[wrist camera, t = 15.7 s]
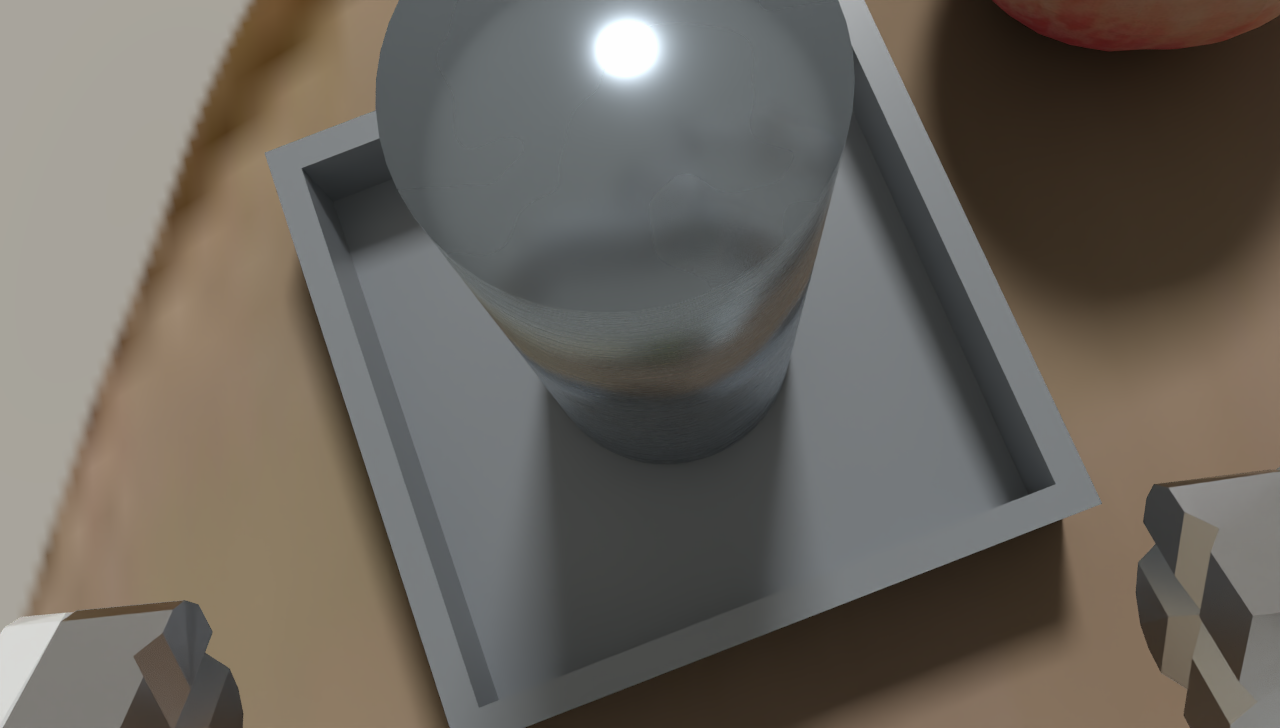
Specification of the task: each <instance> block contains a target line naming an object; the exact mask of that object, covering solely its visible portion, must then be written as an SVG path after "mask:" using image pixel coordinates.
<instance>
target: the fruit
mask: <svg viewBox="0 0 1280 728" xmlns="http://www.w3.org/2000/svg"><path fill="white" fill-rule="evenodd" d="M992 1H993V2H994V3H996V4H997V5H998V6H999V7H1000V8H1001V9H1002V10H1004V11H1005V12H1006V13H1007V14H1008V15H1009V16H1011V17H1012V18H1014V19H1016V20H1017V21H1019V22H1020V23H1022V24H1024V25H1025V26H1027V27H1028V28H1030V29H1032V30H1033V31H1035V32H1037V33H1038V34H1041V35H1044V36H1046V37H1049V38H1052V39H1055V40H1058V41H1060V42H1063V43H1066V44H1069V45H1073V46H1079V47H1085V48H1091V49H1097V50H1103V51H1124V50H1140V49H1180V48H1187V47H1194V46H1200V45H1207V44H1213V43H1217V42H1221V41H1225V40H1228V39H1230V38H1233V37H1235V36H1238V35H1240V34H1243V33H1245V32H1248V31H1250V30H1253V29H1255V28H1258V27H1260V26H1262V25H1264V24H1266V23H1267V22H1269V21H1271V20H1273V19H1274V18H1276V17H1277V16H1279V15H1280V0H992Z"/></svg>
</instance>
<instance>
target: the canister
mask: <svg viewBox="0 0 1280 728" xmlns="http://www.w3.org/2000/svg"><path fill="white" fill-rule="evenodd" d="M854 85H855V74H854V61H853V49H852V45H851V40H850V36H849V31H848V27H847V22H846V19H845V17H844V14H843V12H842V9H841V6H840V4H839V1H838V0H399V2H398V4H397V6H396V8H395V11H394V13H393V15H392V17H391V20H390V22H389V24H388V28H387V31H386V35H385V38H384V41H383V45H382V48H381V52H380V58H379V64H378V71H377V77H376V115H377V123H378V132H379V138H380V142H381V146H382V149H383V153H384V157H385V161H386V164H387V167H388V169H389V171H390V174H391V176H392V178H393V181H394V183H395V185H396V188H397V190H398V192H399V194H400V196H401V197H402V199H403V200H404V202H405V204H406V205H407V207H408V209H409V210H410V212H411V214H412V215H413V217H414V218H415V220H416V221H417V222H418V223H419V225H420V226H421V227H422V229H423V230H424V231H425V232H426V234H427V235H428V236H429V238H430V239H431V240H432V241H433V243H434V244H435V245H436V247H437V248H438V249H439V250H440V252H441V253H442V254H443V256H444V257H445V258H446V259H447V261H448V262H449V263H450V265H451V266H452V267H453V268H454V270H455V271H456V272H457V274H458V275H459V276H460V277H461V279H462V280H463V281H464V283H465V284H466V285H467V286H468V288H469V289H470V290H471V292H472V293H473V294H474V295H475V297H476V298H477V299H478V301H479V302H480V303H481V304H482V306H483V307H484V308H485V310H486V311H487V312H488V313H489V315H490V316H491V317H492V319H493V320H494V321H495V322H496V324H497V325H498V326H499V328H500V329H501V330H502V331H503V333H504V334H505V335H506V337H507V338H508V339H509V340H510V342H511V343H512V344H513V346H514V347H515V348H516V349H517V351H518V352H519V353H520V355H521V356H522V357H523V358H524V360H525V361H526V362H527V364H528V365H529V366H530V367H531V369H532V370H533V371H534V373H535V374H536V375H537V376H538V378H539V379H540V380H541V382H542V383H543V384H544V385H545V387H546V388H547V389H548V391H549V392H550V393H551V394H552V396H553V397H554V398H555V400H556V401H557V402H558V403H559V405H560V406H561V407H562V409H563V410H564V411H565V412H566V414H567V415H568V416H569V417H570V419H571V420H572V421H573V422H574V423H575V425H576V426H577V427H578V428H579V429H580V430H581V431H582V432H584V433H585V434H586V435H587V436H588V437H589V438H590V439H592V440H593V441H595V442H596V443H597V444H599V445H600V446H602V447H604V448H606V449H608V450H609V451H611V452H613V453H615V454H618V455H620V456H623V457H626V458H628V459H631V460H636V461H640V462H645V463H653V464H681V463H687V462H693V461H697V460H700V459H704V458H707V457H710V456H713V455H715V454H717V453H719V452H721V451H723V450H726V449H727V448H729V447H731V446H732V445H734V444H735V443H737V442H738V441H740V440H741V439H742V438H744V437H745V436H746V435H747V434H748V433H750V432H751V431H752V430H753V429H754V428H755V427H756V426H757V425H758V424H759V423H760V421H761V420H762V419H763V418H764V417H765V415H766V414H767V413H768V411H769V410H770V408H771V407H772V405H773V404H774V402H775V400H776V398H777V396H778V394H779V392H780V390H781V387H782V384H783V382H784V379H785V376H786V372H787V368H788V364H789V360H790V357H791V353H792V349H793V345H794V341H795V337H796V333H797V329H798V326H799V322H800V318H801V314H802V310H803V306H804V302H805V298H806V295H807V291H808V287H809V283H810V279H811V275H812V271H813V267H814V263H815V260H816V256H817V252H818V248H819V244H820V240H821V236H822V232H823V229H824V225H825V221H826V217H827V213H828V209H829V205H830V201H831V198H832V194H833V190H834V186H835V182H836V178H837V174H838V170H839V167H840V163H841V159H842V155H843V151H844V147H845V143H846V139H847V135H848V130H849V125H850V121H851V116H852V111H853V100H854Z"/></svg>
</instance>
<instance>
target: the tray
mask: <svg viewBox="0 0 1280 728" xmlns="http://www.w3.org/2000/svg"><path fill="white" fill-rule="evenodd" d="M838 1H839V4H840V6H841V9H842V12H843V14H844V17H845V19H846V22H847V27H848V31H849V36H850V40H851V45H852V49H853V61H854V74H855V85H854V100H853V111H852V116H851V121H850V125H849V130H848V135H847V139H846V143H845V147H844V151H843V155H842V159H841V163H840V167H839V170H838V174H837V178H836V182H835V186H834V190H833V194H832V198H831V201H830V205H829V209H828V213H827V217H826V221H825V225H824V229H823V232H822V236H821V240H820V244H819V248H818V252H817V256H816V260H815V263H814V267H813V271H812V275H811V279H810V283H809V287H808V291H807V295H806V298H805V302H804V306H803V310H802V314H801V318H800V322H799V326H798V329H797V333H796V337H795V341H794V345H793V349H792V353H791V357H790V360H789V364H788V368H787V372H786V376H785V379H784V382H783V384H782V387H781V390H780V392H779V394H778V396H777V398H776V400H775V402H774V404H773V405H772V407H771V408H770V410H769V411H768V413H767V414H766V415H765V417H764V418H763V419H762V420H761V421H760V423H759V424H758V425H757V426H756V427H755V428H754V429H753V430H752V431H751V432H750V433H748V434H747V435H746V436H745V437H744V438H742V439H741V440H740V441H738V442H737V443H735V444H734V445H732V446H731V447H729V448H727V449H726V450H723V451H721V452H719V453H717V454H715V455H713V456H710V457H707V458H704V459H700V460H697V461H693V462H687V463H681V464H653V463H645V462H640V461H636V460H631V459H628V458H626V457H623V456H620V455H618V454H615V453H613V452H611V451H609V450H608V449H606V448H604V447H602V446H600V445H599V444H597V443H596V442H595V441H593V440H592V439H590V438H589V437H588V436H587V435H586V434H585V433H584V432H582V431H581V430H580V429H579V428H578V427H577V426H576V425H575V423H574V422H573V421H572V420H571V419H570V417H569V416H568V415H567V414H566V412H565V411H564V410H563V409H562V407H561V406H560V405H559V403H558V402H557V401H556V400H555V398H554V397H553V396H552V394H551V393H550V392H549V391H548V389H547V388H546V387H545V385H544V384H543V383H542V382H541V380H540V379H539V378H538V376H537V375H536V374H535V373H534V371H533V370H532V369H531V367H530V366H529V365H528V364H527V362H526V361H525V360H524V358H523V357H522V356H521V355H520V353H519V352H518V351H517V349H516V348H515V347H514V346H513V344H512V343H511V342H510V340H509V339H508V338H507V337H506V335H505V334H504V333H503V331H502V330H501V329H500V328H499V326H498V325H497V324H496V322H495V321H494V320H493V319H492V317H491V316H490V315H489V313H488V312H487V311H486V310H485V308H484V307H483V306H482V304H481V303H480V302H479V301H478V299H477V298H476V297H475V295H474V294H473V293H472V292H471V290H470V289H469V288H468V286H467V285H466V284H465V283H464V281H463V280H462V279H461V277H460V276H459V275H458V274H457V272H456V271H455V270H454V268H453V267H452V266H451V265H450V263H449V262H448V261H447V259H446V258H445V257H444V256H443V254H442V253H441V252H440V250H439V249H438V248H437V247H436V245H435V244H434V243H433V241H432V240H431V239H430V238H429V236H428V235H427V234H426V232H425V231H424V230H423V229H422V227H421V226H420V225H419V223H418V222H417V221H416V220H415V218H414V217H413V215H412V214H411V212H410V210H409V209H408V207H407V205H406V204H405V202H404V200H403V199H402V197H401V196H400V194H399V192H398V190H397V188H396V185H395V183H394V181H393V178H392V176H391V174H390V171H389V169H388V167H387V164H386V161H385V157H384V153H383V149H382V146H381V142H380V138H379V132H378V123H377V115H376V110H375V111H373V112H370V113H367V114H365V115H362V116H360V117H357V118H354V119H352V120H349V121H347V122H344V123H341V124H339V125H336V126H333V127H331V128H328V129H326V130H323V131H320V132H318V133H315V134H313V135H310V136H307V137H305V138H302V139H299V140H297V141H294V142H292V143H289V144H286V145H284V146H281V147H279V148H276V149H273V150H271V151H268V152H265V156H266V159H267V162H268V165H269V168H270V171H271V174H272V177H273V181H274V184H275V187H276V190H277V193H278V196H279V199H280V202H281V205H282V208H283V212H284V215H285V218H286V221H287V224H288V227H289V230H290V233H291V236H292V239H293V243H294V246H295V249H296V252H297V255H298V258H299V261H300V264H301V267H302V271H303V274H304V277H305V280H306V283H307V286H308V289H309V292H310V295H311V298H312V302H313V305H314V308H315V311H316V314H317V317H318V320H319V323H320V326H321V330H322V333H323V336H324V339H325V342H326V345H327V348H328V351H329V354H330V357H331V361H332V364H333V367H334V370H335V373H336V376H337V379H338V382H339V385H340V388H341V392H342V395H343V398H344V401H345V404H346V407H347V410H348V413H349V416H350V420H351V423H352V426H353V429H354V432H355V435H356V438H357V441H358V444H359V447H360V451H361V454H362V457H363V460H364V463H365V466H366V469H367V472H368V475H369V479H370V482H371V485H372V488H373V491H374V494H375V497H376V500H377V503H378V506H379V510H380V513H381V516H382V519H383V522H384V525H385V528H386V531H387V534H388V537H389V541H390V544H391V547H392V550H393V553H394V556H395V559H396V562H397V565H398V569H399V572H400V575H401V578H402V581H403V584H404V587H405V590H406V593H407V596H408V600H409V603H410V606H411V609H412V612H413V615H414V618H415V621H416V624H417V628H418V631H419V634H420V637H421V640H422V643H423V646H424V649H425V652H426V655H427V659H428V662H429V665H430V668H431V671H432V674H433V677H434V680H435V683H436V686H437V690H438V693H439V696H440V699H441V702H442V705H443V708H444V711H445V714H446V718H447V721H448V724H449V727H450V728H525V727H528V726H530V725H533V724H535V723H538V722H540V721H543V720H546V719H548V718H551V717H553V716H556V715H558V714H561V713H564V712H566V711H569V710H571V709H574V708H577V707H579V706H582V705H584V704H587V703H589V702H592V701H595V700H597V699H600V698H602V697H605V696H607V695H610V694H613V693H615V692H618V691H620V690H623V689H625V688H628V687H631V686H633V685H636V684H638V683H641V682H643V681H646V680H649V679H651V678H654V677H656V676H659V675H662V674H664V673H667V672H669V671H672V670H674V669H677V668H680V667H682V666H685V665H687V664H690V663H692V662H695V661H698V660H700V659H703V658H705V657H708V656H710V655H713V654H716V653H718V652H721V651H723V650H726V649H729V648H731V647H734V646H736V645H739V644H741V643H744V642H747V641H749V640H752V639H754V638H757V637H759V636H762V635H765V634H767V633H770V632H772V631H775V630H777V629H780V628H783V627H785V626H788V625H790V624H793V623H795V622H798V621H801V620H803V619H806V618H808V617H811V616H814V615H816V614H819V613H821V612H824V611H826V610H829V609H832V608H834V607H837V606H839V605H842V604H844V603H847V602H850V601H852V600H855V599H857V598H860V597H862V596H865V595H868V594H870V593H873V592H875V591H878V590H881V589H883V588H886V587H888V586H891V585H893V584H896V583H899V582H901V581H904V580H906V579H909V578H911V577H914V576H917V575H919V574H922V573H924V572H927V571H929V570H932V569H935V568H937V567H940V566H942V565H945V564H947V563H950V562H953V561H955V560H958V559H960V558H963V557H966V556H968V555H971V554H973V553H976V552H978V551H981V550H984V549H986V548H989V547H991V546H994V545H996V544H999V543H1002V542H1004V541H1007V540H1009V539H1012V538H1014V537H1017V536H1020V535H1022V534H1025V533H1027V532H1030V531H1033V530H1035V529H1038V528H1040V527H1043V526H1045V525H1048V524H1051V523H1053V522H1056V521H1058V520H1061V519H1063V518H1066V517H1069V516H1071V515H1074V514H1076V513H1079V512H1081V511H1084V510H1087V509H1089V508H1092V507H1094V506H1097V505H1099V504H1102V502H1101V500H1100V498H1099V496H1098V494H1097V492H1096V490H1095V488H1094V485H1093V483H1092V481H1091V479H1090V477H1089V475H1088V473H1087V471H1086V469H1085V466H1084V464H1083V462H1082V460H1081V458H1080V456H1079V454H1078V452H1077V450H1076V447H1075V445H1074V443H1073V441H1072V439H1071V437H1070V435H1069V433H1068V430H1067V428H1066V426H1065V424H1064V422H1063V420H1062V418H1061V416H1060V414H1059V411H1058V409H1057V407H1056V405H1055V403H1054V401H1053V399H1052V397H1051V395H1050V392H1049V390H1048V388H1047V386H1046V384H1045V382H1044V380H1043V378H1042V375H1041V373H1040V371H1039V369H1038V367H1037V365H1036V363H1035V361H1034V359H1033V356H1032V354H1031V352H1030V350H1029V348H1028V346H1027V344H1026V342H1025V340H1024V337H1023V335H1022V333H1021V331H1020V329H1019V327H1018V325H1017V323H1016V320H1015V318H1014V316H1013V314H1012V312H1011V310H1010V308H1009V306H1008V304H1007V301H1006V299H1005V297H1004V295H1003V293H1002V291H1001V289H1000V287H999V285H998V282H997V280H996V278H995V276H994V274H993V272H992V270H991V268H990V265H989V263H988V261H987V259H986V257H985V255H984V253H983V251H982V249H981V246H980V244H979V242H978V240H977V238H976V236H975V234H974V232H973V230H972V227H971V225H970V223H969V221H968V219H967V217H966V215H965V213H964V210H963V208H962V206H961V204H960V202H959V200H958V198H957V196H956V194H955V191H954V189H953V187H952V185H951V183H950V181H949V179H948V177H947V175H946V172H945V170H944V168H943V166H942V164H941V162H940V160H939V158H938V155H937V153H936V151H935V149H934V147H933V145H932V143H931V141H930V139H929V136H928V134H927V132H926V130H925V128H924V126H923V124H922V122H921V120H920V117H919V115H918V113H917V111H916V109H915V107H914V105H913V103H912V100H911V98H910V96H909V94H908V92H907V90H906V88H905V86H904V84H903V81H902V79H901V77H900V75H899V73H898V71H897V69H896V67H895V65H894V62H893V60H892V58H891V56H890V54H889V52H888V50H887V48H886V45H885V43H884V41H883V39H882V37H881V35H880V33H879V31H878V29H877V26H876V24H875V22H874V20H873V18H872V16H871V14H870V12H869V10H868V7H867V5H866V3H865V1H864V0H838Z"/></svg>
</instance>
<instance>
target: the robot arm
mask: <svg viewBox="0 0 1280 728" xmlns="http://www.w3.org/2000/svg"><path fill="white" fill-rule="evenodd" d="M1143 523H1144V524H1145V526H1146V528H1147V529H1148V531H1149V533H1150V534H1151V536H1152V538H1153V540H1154V541H1155V543H1156V544H1155V545H1154V546H1153V547H1152V548H1151V549H1150V551H1149V552H1148V553H1147V554H1146V555H1145V556H1144V557H1143V558H1142V559H1141V560H1140V561H1139V562H1138V571H1137V583H1136V598H1137V605H1138V612H1139V619H1140V625H1141V628H1142V631H1143V634H1144V637H1145V640H1146V642H1147V645H1148V648H1149V650H1150V652H1151V654H1152V656H1153V658H1154V660H1155V662H1156V664H1157V666H1158V668H1159V670H1160V672H1161V673H1162V674H1164V675H1165V676H1167V677H1169V678H1170V679H1172V680H1173V681H1175V682H1177V683H1178V684H1180V685H1181V686H1183V687H1185V688H1186V689H1187V695H1186V702H1185V708H1184V717H1185V719H1186V721H1187V723H1188V725H1189V727H1190V728H1280V467H1279V468H1277V469H1276V470H1263V471H1255V472H1247V473H1239V474H1231V475H1223V476H1215V477H1207V478H1200V479H1192V480H1184V481H1176V482H1168V483H1160V484H1154V485H1153V487H1152V489H1151V491H1150V493H1149V495H1148V496H1147V499H1146V506H1145V513H1144V520H1143ZM211 635H212V630H211V628H210V626H209V624H208V622H207V620H206V618H205V616H204V614H203V612H202V611H201V609H200V607H199V605H198V604H195V603H192V602H188V601H185V600H183V601H172V602H162V603H151V604H141V605H130V606H120V607H110V608H99V609H89V610H78V611H75V612H74V613H59V614H48V615H38V616H27V617H20V618H19V619H17V620H15V621H14V622H12V623H11V624H9V625H7V626H6V627H4V629H3V631H2V632H1V634H0V728H243V710H242V705H241V700H240V695H239V690H238V687H237V685H236V682H235V680H234V678H233V675H232V673H231V671H230V669H229V668H228V667H226V666H225V665H223V664H222V663H220V662H219V661H217V660H215V659H214V658H212V657H211V656H209V655H208V654H206V653H205V651H206V648H207V645H208V643H209V640H210V638H211Z"/></svg>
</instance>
